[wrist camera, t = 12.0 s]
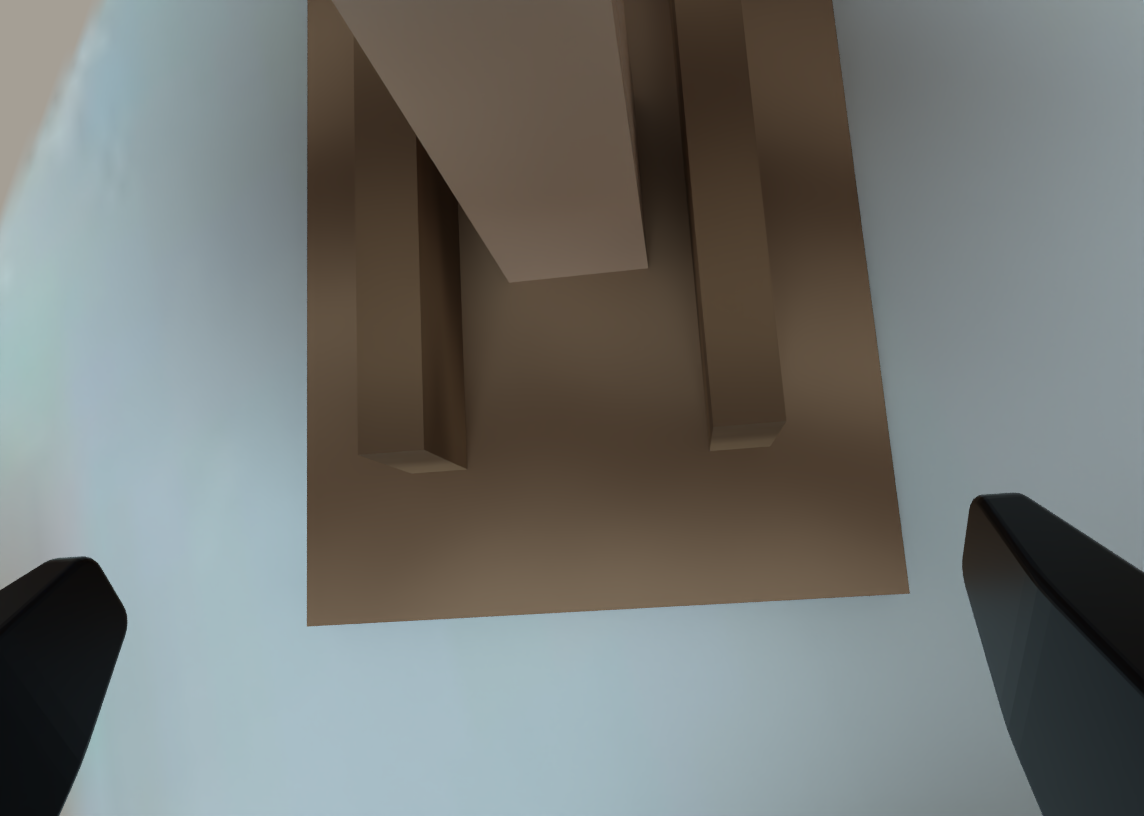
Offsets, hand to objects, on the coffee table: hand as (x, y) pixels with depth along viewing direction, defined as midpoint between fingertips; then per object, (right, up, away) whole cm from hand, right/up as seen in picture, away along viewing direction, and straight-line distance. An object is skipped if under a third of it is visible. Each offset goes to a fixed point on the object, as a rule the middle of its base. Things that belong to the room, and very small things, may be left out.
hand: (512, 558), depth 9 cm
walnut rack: (+1, +6, +11) cm, 13 cm away
